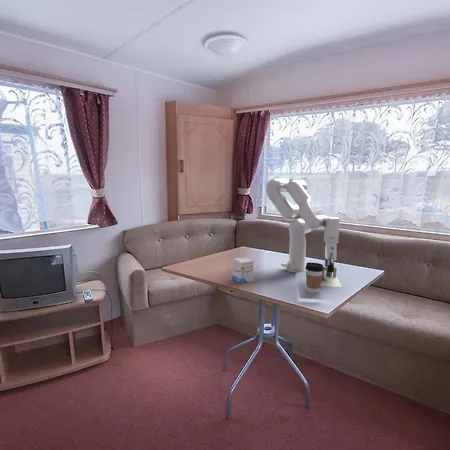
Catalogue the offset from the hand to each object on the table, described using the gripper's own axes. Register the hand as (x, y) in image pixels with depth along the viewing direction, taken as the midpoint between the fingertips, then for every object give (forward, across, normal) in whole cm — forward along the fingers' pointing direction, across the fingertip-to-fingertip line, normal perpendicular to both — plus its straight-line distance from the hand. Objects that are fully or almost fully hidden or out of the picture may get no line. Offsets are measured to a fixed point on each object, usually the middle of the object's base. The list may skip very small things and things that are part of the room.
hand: (329, 269), depth 173 cm
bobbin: (+4, -8, +6) cm, 10 cm away
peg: (+4, 0, 0) cm, 4 cm away
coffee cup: (+6, -26, +11) cm, 28 cm away
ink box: (+6, -12, +47) cm, 49 cm away
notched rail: (+4, 0, +2) cm, 4 cm away
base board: (+5, -8, +2) cm, 10 cm away
